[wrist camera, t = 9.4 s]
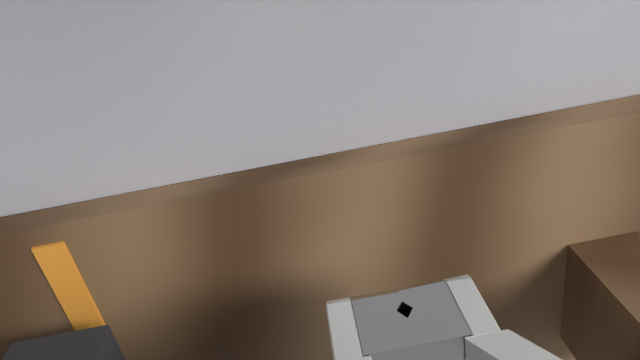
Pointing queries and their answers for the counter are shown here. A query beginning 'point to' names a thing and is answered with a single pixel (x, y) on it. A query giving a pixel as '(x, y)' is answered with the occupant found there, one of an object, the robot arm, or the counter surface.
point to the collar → (69, 346)
